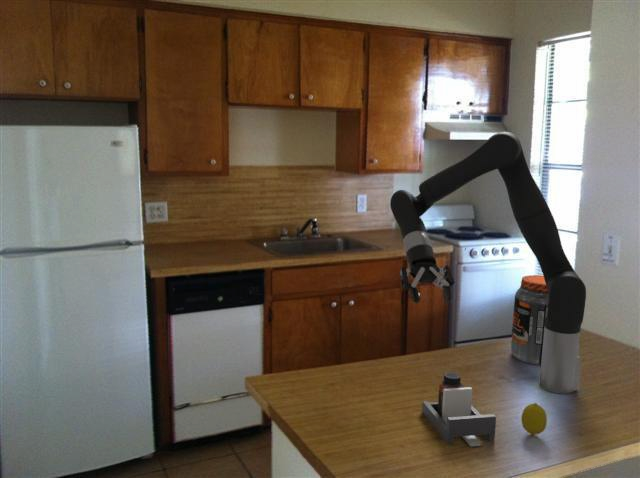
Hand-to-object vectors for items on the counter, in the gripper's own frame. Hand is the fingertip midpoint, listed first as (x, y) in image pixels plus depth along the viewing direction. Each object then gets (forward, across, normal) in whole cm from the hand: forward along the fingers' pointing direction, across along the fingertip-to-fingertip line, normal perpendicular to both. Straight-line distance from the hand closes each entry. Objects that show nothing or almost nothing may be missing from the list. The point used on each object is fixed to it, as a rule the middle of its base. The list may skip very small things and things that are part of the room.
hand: (433, 301), depth 153 cm
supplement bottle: (+29, 0, +8) cm, 30 cm away
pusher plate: (+34, 0, +2) cm, 34 cm away
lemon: (+36, +16, +1) cm, 40 cm away
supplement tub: (+4, +45, +34) cm, 56 cm away
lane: (+31, 0, +6) cm, 32 cm away
